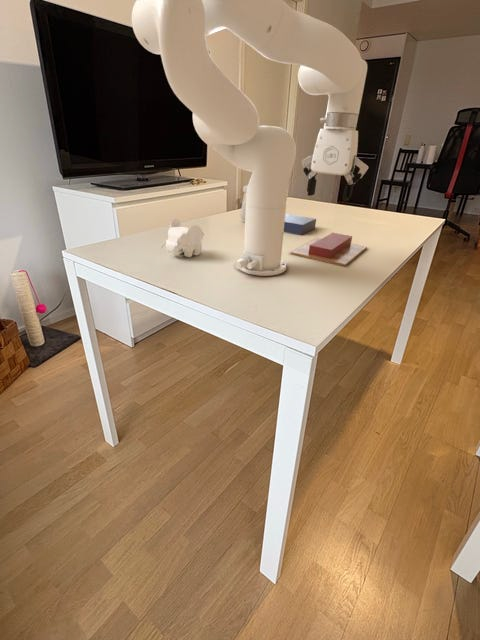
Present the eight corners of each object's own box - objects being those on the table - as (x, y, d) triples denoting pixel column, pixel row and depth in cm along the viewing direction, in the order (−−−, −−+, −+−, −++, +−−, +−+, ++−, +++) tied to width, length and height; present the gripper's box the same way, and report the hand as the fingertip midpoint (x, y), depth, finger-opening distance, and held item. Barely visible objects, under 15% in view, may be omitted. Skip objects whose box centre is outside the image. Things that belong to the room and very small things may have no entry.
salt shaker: (253, 224, 129) (255, 187, 122) (238, 222, 129) (239, 186, 123) (255, 220, 134) (257, 185, 127) (241, 219, 134) (242, 184, 128)
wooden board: (345, 266, 91) (345, 264, 91) (290, 254, 98) (291, 252, 98) (366, 248, 106) (366, 246, 105) (317, 239, 113) (318, 237, 113)
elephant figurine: (155, 255, 94) (152, 222, 89) (189, 246, 101) (188, 216, 97) (177, 264, 88) (175, 229, 84) (211, 254, 96) (211, 222, 91)
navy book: (301, 235, 117) (302, 224, 115) (258, 226, 125) (259, 217, 123) (315, 228, 126) (316, 218, 124) (274, 221, 134) (275, 212, 132)
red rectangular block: (330, 258, 94) (331, 249, 93) (308, 253, 97) (309, 245, 96) (350, 244, 107) (352, 236, 106) (331, 240, 110) (332, 232, 109)
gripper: (301, 120, 83) (292, 194, 91) (372, 123, 75) (355, 204, 83) (313, 122, 89) (303, 192, 97) (381, 125, 81) (364, 201, 89)
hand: (327, 197), depth 90 cm, fingers open, 9 cm apart
